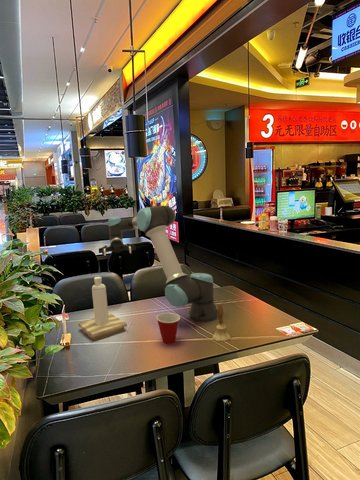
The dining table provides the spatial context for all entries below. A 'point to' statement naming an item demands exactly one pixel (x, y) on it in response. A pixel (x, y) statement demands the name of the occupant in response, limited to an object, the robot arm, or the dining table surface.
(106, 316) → the spray bottle
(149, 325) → the dining table surface
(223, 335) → the hand bell
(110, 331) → the stand
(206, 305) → the robot arm
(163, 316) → the plastic cup
